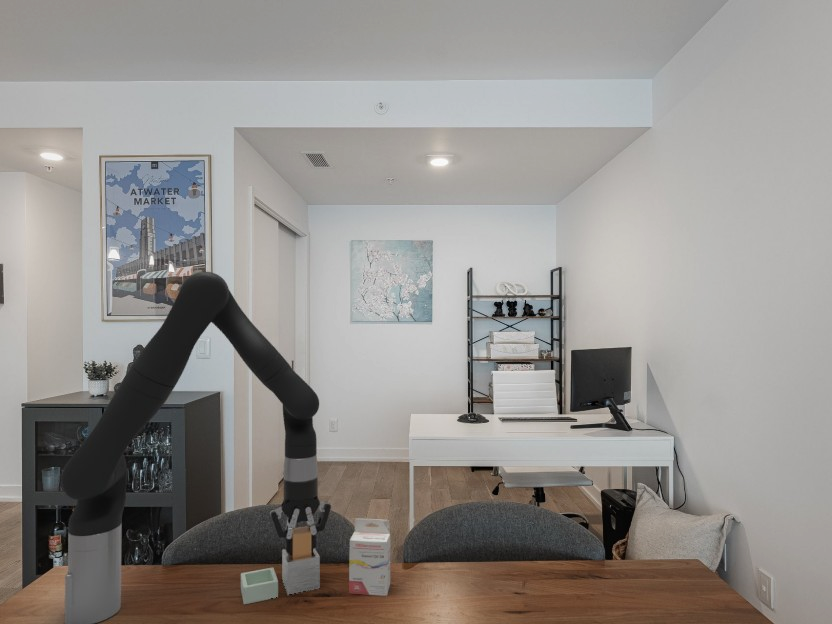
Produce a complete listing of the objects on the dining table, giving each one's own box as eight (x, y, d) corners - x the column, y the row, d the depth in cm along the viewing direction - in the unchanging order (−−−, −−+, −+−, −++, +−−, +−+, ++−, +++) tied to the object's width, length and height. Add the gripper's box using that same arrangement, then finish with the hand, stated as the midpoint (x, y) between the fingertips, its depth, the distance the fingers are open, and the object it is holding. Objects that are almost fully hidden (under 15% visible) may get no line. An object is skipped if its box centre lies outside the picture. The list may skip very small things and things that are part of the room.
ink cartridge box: (348, 594, 112) (348, 525, 112) (353, 583, 117) (353, 517, 117) (387, 596, 111) (387, 527, 111) (391, 585, 116) (390, 518, 116)
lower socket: (243, 604, 108) (243, 588, 108) (240, 589, 115) (240, 573, 115) (278, 597, 111) (278, 581, 111) (273, 582, 117) (273, 567, 117)
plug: (293, 572, 114) (293, 535, 114) (289, 564, 117) (289, 528, 118) (311, 568, 115) (311, 532, 116) (307, 561, 119) (307, 525, 119)
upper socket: (287, 595, 112) (287, 562, 112) (282, 580, 118) (282, 549, 118) (319, 588, 115) (319, 556, 115) (312, 574, 121) (312, 544, 121)
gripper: (270, 484, 111) (270, 565, 110) (335, 475, 116) (335, 553, 116) (265, 474, 118) (265, 551, 117) (327, 467, 123) (327, 540, 123)
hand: (300, 551), depth 117 cm, fingers closed on plug, 4 cm apart
